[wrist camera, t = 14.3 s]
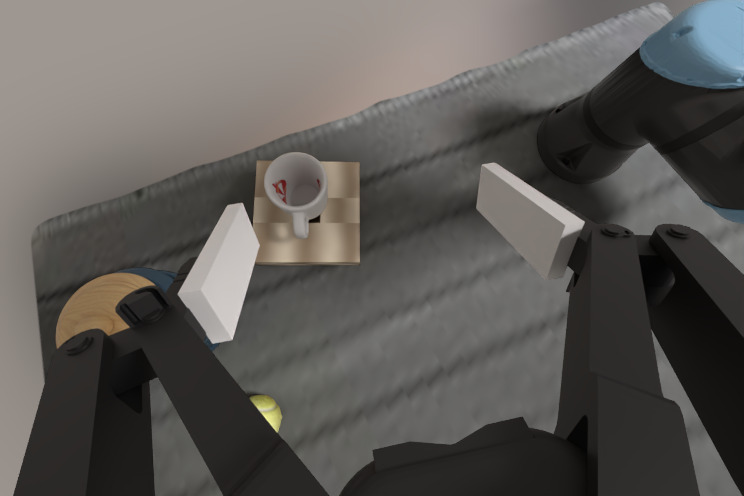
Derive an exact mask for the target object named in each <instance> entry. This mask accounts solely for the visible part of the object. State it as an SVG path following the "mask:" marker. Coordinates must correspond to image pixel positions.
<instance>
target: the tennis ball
mask: <svg viewBox="0 0 744 496" xmlns="http://www.w3.org/2000/svg"><path fill="white" fill-rule="evenodd" d="M249 399H250V400H251V401H252V402H253V404H254V405H255V406H256V407H257V409H258V410H259V411H260V412H261V413H262V415H263V416H264V417H265V418H266V420H267V421H268V422H269V423H270V425H271V426H272V427H273V428H274V430H275V431H276V432H277V433H278V431H279V427H280V424H281V419H282V415H281V412H280V408H279V406H278V405H277V404H276V403H275V401H274V400H273V399H272V398H270V397H269V396H268V395H267V396H266V395H255V396H251V397H250V398H249Z"/></svg>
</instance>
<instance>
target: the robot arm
mask: <svg viewBox="0 0 744 496" xmlns="http://www.w3.org/2000/svg"><path fill="white" fill-rule="evenodd" d="M537 143H538V149H539V152H540V155H541V157H542V159H543V161H544V162H545V164H546V165H547V166H548V167H549V168H550V169H551V170H552V171H553V172H554V173H555V174H557V175H558V176H560V177H561V178H563V179H565V180H568V181H570V182H574V183H582V184H586V183H593V182H596V181H599V180H601V179H603V178H605V177H607V176H609V175H611V174H612V173H614V172H615V171H616V170H617V169H619V167H620V166H621V165H622V164H623V163H624V162H625V161H626V160H627V159H628V158H629V157H630V156H631V155H632V154H633V153H634V152H635V151H636V150H637V149H638V148H640V147H642V146H644V145H645V144H647V143H650V144H651V145H652V146H653V147H654V148H655V149H656V150H657V151H658V152H659V153H660V154H661V156H662V157H663V158H664V159H665V160H666V161H667V162H668V163H669V164H670V165H671V167H672V168H673V169H674V170H675V171H676V172H677V173H678V174H679V175H680V176H681V178H682V179H683V180H684V181H685V182H686V183H687V184H688V185H689V186H690V187H691V188H692V190H693V191H694V192H695V193H696V194H697V195H698V196H699V198H700V199H701V200H702V201H703V202H704V203H705V204H706V205H708V206H710V207H711V208H712V209H714V210H715V211H716V212H717V213H718V214H719V215H720V216H722V217H723V218H725V219H727V220H729V221H732V222H736V223H741V224H744V0H709V1H704V2H701V3H698V4H695V5H693V6H691V7H689V8H687V9H685V10H684V11H682V12H681V13H679V14H678V15H677V16H675V17H674V18H673V19H672V20H671V21H669V22H668V23H667V24H666V25H665V26H663V27H662V28H661V29H660V30H658V31H656V32H655V33H653V34H651V35H650V36H649V37H648V38H647V39H646V40H645V41H644V42H643V43H642V45H641V47H640V48H639V49H637V50H636V51H635V52H634V53H633V54H632V55H631V56H629V57H628V58H627V59H626V60H625V61H624V62H623V63H621V64H620V65H619V66H618V67H617V68H616V69H615V70H613V71H612V72H611V73H610V74H609V75H608V76H607V77H605V78H604V79H603V80H602V81H601V82H600V83H598V84H597V85H596V86H595V87H594V88H593V89H592V90H591V91H589V92H587V93H585V94H583V95H581V96H579V97H576V98H574V99H572V100H570V101H568V102H566V103H564V104H562V105H560V106H558V107H557V108H556V109H555V110H553V111H552V112H551V113H550V114H549V115H548V116H547V117H546V118H545V119H544V120H543V122H542V124H541V125H540V128H539V131H538V136H537ZM476 209H477V210H478V211H479V212H480V213H481V214H482V215H483V216H484V217H485V218H486V219H487V220H488V221H489V222H490V223H491V224H492V225H493V226H494V227H495V228H496V229H497V231H498V232H499V233H500V234H501V235H502V236H503V237H504V238H505V239H506V240H507V241H508V242H509V243H510V244H511V245H512V246H513V247H514V248H515V249H516V250H517V251H518V252H519V253H520V254H521V255H522V256H523V257H524V258H525V259H526V260H527V261H528V262H529V263H530V264H531V265H532V267H533V268H534V269H535V270H536V271H537V272H538V273H539V274H540V275H541V276H542V277H543V278H544V279H545V280H551V279H556V278H561V277H563V276H564V273H565V271H566V268H567V266H568V267H570V268H571V269H572V270H573V271H574V273H573V275H572V278H571V280H570V283H569V285H568V287H567V290H566V292H569V291H570V297H569V307H568V318H567V328H566V339H565V349H564V360H563V370H562V381H561V392H560V402H559V413H558V421H557V425H556V428H555V431H554V434H552V433H549V432H546V431H543V430H538V429H534V428H528V426H527V424H526V422H525V420H524V418H523V417H519V418H514V419H510V420H505V421H501V422H496V423H492V424H487V425H485V426H484V427H482V428H480V429H479V430H477V431H475V432H474V433H472V434H470V435H469V436H467V437H465V438H464V439H462V440H460V441H459V442H457V443H455V444H452V445H447V444H434V443H421V442H406V443H402V444H397V445H393V446H388V447H384V448H379V449H375V450H373V456H374V461H373V462H371V463H369V464H368V465H366V466H365V467H363V468H362V469H361V470H360V471H358V472H357V473H356V474H355V475H354V476H353V477H352V478H351V479H350V481H349V482H348V483H347V485H346V486H345V487H344V488H343V490H342V492H341V493H340V495H339V496H700V494H699V490H698V485H697V480H696V475H695V471H694V466H693V461H692V457H691V452H690V447H689V443H688V438H687V433H686V428H685V424H684V419H683V415H682V412H681V409H680V407H679V406H678V405H677V404H676V402H674V401H672V400H669V399H666V398H664V397H663V394H662V390H661V384H660V379H659V373H658V367H657V361H656V355H655V349H654V344H653V338H652V332H651V329H652V331H653V333H654V335H655V337H656V338H657V340H658V342H659V344H660V346H661V348H662V349H663V351H664V353H665V355H666V357H667V359H668V361H669V362H670V364H671V366H672V368H673V370H674V372H675V373H676V375H677V377H678V379H679V381H680V383H681V385H682V386H683V388H684V390H685V392H686V394H687V396H688V397H689V399H690V401H691V403H692V405H693V407H694V409H695V410H696V412H697V414H698V416H699V418H700V420H701V421H702V423H703V425H704V427H705V429H706V431H707V433H708V434H709V436H710V438H711V440H712V442H713V444H714V445H715V447H716V449H717V451H718V453H719V455H720V457H721V458H722V460H723V462H724V464H725V466H726V468H727V469H728V471H729V473H730V475H731V477H732V479H733V480H734V482H735V484H736V485H737V487H738V489H739V490H740V492H741V494H742V496H744V275H743V274H742V273H741V272H740V271H739V270H738V269H737V268H736V267H735V266H734V265H733V264H732V263H731V262H730V261H729V260H728V259H727V258H726V257H725V256H724V255H723V254H722V253H721V252H720V251H719V250H718V249H717V248H716V247H715V246H713V245H712V244H711V243H710V242H709V241H708V240H707V239H706V238H705V237H704V236H703V235H702V234H701V233H699V232H698V231H696V230H693V229H691V228H690V227H687V226H683V225H675V224H662V225H658V226H657V227H656V228H655V230H654V232H653V234H652V235H634V234H633V232H631V231H630V230H629V229H627V228H624V227H622V226H619V225H615V224H606V223H603V224H596V223H594V222H593V221H591V220H590V219H588V218H586V217H585V216H583V215H582V214H580V213H579V212H577V211H576V212H575V210H574V209H572V208H571V207H568V205H566V204H565V203H563V202H561V201H560V200H557V199H554V198H551V197H546V196H545V195H543V194H542V193H540V192H539V191H537V190H536V189H534V188H533V187H531V186H530V185H528V184H527V183H525V182H524V181H522V180H521V179H519V178H518V177H516V176H515V175H513V174H512V173H510V172H508V171H507V170H505V169H504V168H502V167H501V166H499V165H498V164H496V163H489V164H482V166H481V174H480V182H479V190H478V197H477V205H476ZM259 246H260V244H259V242H258V239H257V237H256V235H255V232H254V230H253V227H252V225H251V222H250V220H249V218H248V215H247V213H246V210H245V208H244V205H243V203H237V204H231V205H227V207H226V209H225V210H224V212H223V214H222V216H221V218H220V219H219V221H218V223H217V225H216V226H215V228H214V230H213V232H212V234H211V235H210V237H209V239H208V241H207V242H206V244H205V246H204V248H203V250H202V251H201V253H200V255H199V257H194V258H191V259H189V260H188V261H187V262H186V263H185V264H184V265H183V266H182V267H181V268H180V270H179V272H178V273H177V276H175V278H174V280H173V283H171V285H170V286H169V288H168V290H167V291H166V293H164V291H163V290H162V289H161V287H159V286H157V285H150V286H145V287H142V288H139V289H137V290H135V291H133V292H131V293H129V294H128V295H126V296H125V297H124V298H123V299H122V300H120V301H119V303H118V304H117V306H116V307H115V312H116V313H117V314H118V315H119V316H120V317H121V319H122V320H123V321H124V322H125V323H126V324H127V325H128V326H129V327H130V328H127V329H124V330H122V331H119V332H117V333H114V334H112V335H109V336H108V335H107V334H106V333H105V332H104V331H103V330H101V329H99V328H95V329H89V330H86V331H83V332H81V333H79V334H77V335H74V336H72V337H71V338H69V339H68V340H66V341H65V342H64V343H63V344H62V345H61V346H60V347H59V348H58V349H57V350H56V351H55V353H54V355H53V357H52V360H51V364H50V367H49V371H48V374H47V378H46V381H45V385H44V388H43V392H42V396H41V399H40V403H39V406H38V410H37V413H36V417H35V420H34V424H33V428H32V431H31V435H30V438H29V442H28V445H27V449H26V452H25V456H24V459H23V463H22V466H21V470H20V474H19V477H18V481H17V484H16V488H15V491H14V495H13V496H155V490H154V470H153V449H152V429H151V408H150V388H149V381H150V380H152V379H154V378H156V377H158V378H159V380H160V382H161V383H162V385H163V387H164V389H165V391H166V392H167V394H168V396H169V398H170V400H171V401H172V403H173V405H174V407H175V409H176V410H177V412H178V414H179V416H180V418H181V419H182V421H183V423H184V425H185V427H186V429H187V430H188V432H189V434H190V436H191V438H192V439H193V441H194V443H195V445H196V447H197V448H198V450H199V452H200V454H201V456H202V457H203V459H204V461H205V463H206V465H207V466H208V468H209V470H210V472H211V474H212V475H213V477H214V479H215V481H216V483H217V484H218V486H219V488H220V490H221V492H222V494H223V496H329V495H328V493H327V492H326V491H325V490H324V488H323V487H322V486H321V485H320V483H319V482H318V481H317V480H316V479H315V477H314V476H313V475H312V474H311V472H310V471H309V470H308V469H307V467H306V466H305V465H304V464H303V463H302V461H301V460H300V459H299V458H298V456H297V455H296V454H295V453H294V451H293V450H292V449H291V448H290V447H289V445H288V444H287V443H286V442H285V441H284V440H283V439H282V438H281V437H280V436H279V434H278V433H277V432H276V431H275V430H274V428H273V427H272V426H271V425H270V423H269V422H268V421H267V420H266V418H265V417H264V416H263V415H262V413H261V412H260V411H259V410H258V409H257V407H256V406H255V405H254V404H253V402H252V401H251V400H250V399H249V397H248V396H247V395H246V394H245V392H244V391H243V390H242V389H241V387H240V386H239V385H238V384H237V383H236V381H235V380H234V379H233V378H232V376H231V375H230V374H229V373H228V371H227V370H226V369H225V368H224V366H223V365H222V364H221V363H220V362H219V360H218V359H217V358H216V357H215V355H214V354H213V353H212V352H211V350H210V349H209V348H208V347H207V345H206V344H205V343H204V342H203V341H204V339H205V336H206V335H207V336H208V338H209V339H210V341H211V342H212V344H214V343H219V342H224V341H230V340H233V336H234V333H235V329H236V326H237V322H238V319H239V316H240V312H241V309H242V305H243V302H244V298H245V295H246V291H247V288H248V284H249V281H250V277H251V274H252V270H253V267H254V263H255V260H256V257H257V253H258V250H259Z"/></svg>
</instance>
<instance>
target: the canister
mask: <svg viewBox="0 0 744 496" xmlns="http://www.w3.org/2000/svg"><path fill="white" fill-rule="evenodd" d="M175 276H177V274H176V273H173V272H169V271H163V270H154V269H150V268H142V267H135V268H128V269H123V270H120V271H116V272H114V273H111V274H108V275H104V276H101V277H98V278H96V279H94V280H92V281H90V282H88V283H87V284H85V285H84V286H82V287H81V288H80V289H79V290H78V291H76V292H75V293H74V294H73V296H72V297H71V298H70V299H69V300H68V302H67V303H66V305H65V306H64V308H63V310H62V312H61V314H60V317H59V320H58V323H57V328H56V345H57V349H58V348H59V347H60V346H61V345H62V344H63V343H64V342H65V341H66V340H68V339H69V338H71V337H72V336H74V335H77V334H79V333H81V332H83V331H86V330H89V329H95V328H99V329H101V330H103V331H104V332H105V333H106V334H107V335H108V336H109V335H112V334H114V333H117V332H119V331H122V330H124V329H127V328H130V327H129V326H128V325H127V324H126V323H125V322H124V321H123V320H122V319H121V317H120V316H119V315H118V314H117V313H116V312H115V307H116V306H117V304H118V303H119V301H120V300H122V299H123V298H124V297H125V296H126V295H128V294H129V293H131V292H133V291H135V290H137V289H139V288H142V287H145V286H150V285H157V286H159V287H161V289H162V290H163V291H164V293H166V291H167V290H168V288H169V286H170V285H171V283H173V280H174V278H175ZM203 342H204V343H205V344H206V345H207V347H208V348H209V349H210V350H211V352H212V351H213V350H214V349H215V348H216V347H217V346H218V345H219V344H220V343H221V342H219V343H214V344H212V342H211V341H210V339H209V338H208V336H207V335H206V336H205V339H204V341H203Z"/></svg>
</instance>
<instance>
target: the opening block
mask: <svg viewBox="0 0 744 496" xmlns="http://www.w3.org/2000/svg"><path fill="white" fill-rule="evenodd" d="M272 162H273V161H257V169H256V184H255V200H254V216H253V230H254V232H255V235H256V237H257V239H258V242H259V244H260V246H259V250H258V253H257V257H256V260H255V263H254V264H257V265H360V179H359V162H320V163H321V164H322V166H323V167H324V169H325V171H326V174H327V180H328V199H327V204H326V207H325V209H324V211H323V212H322V213H321V214H320V215H319V216H317V217H316V218H314V219H311V220H309V221H308V226H309V232H308V237H307V238H305V239H298V238H297V237H296V236H295V234H294V230H293V217H292V216H290V215H289V214H287V213H286V212H284V211H283V210H281V209H280V208H279V207H277V206H276V205H275V204H273V203H272V201H271V200H270V199H269V197H268V196H267V194H266V191H265V187H264V177H265V173H266V171H267V169H268V167H269V166H270V164H271V163H272Z"/></svg>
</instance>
